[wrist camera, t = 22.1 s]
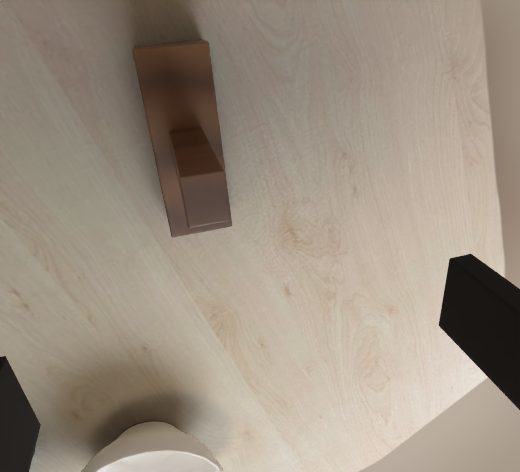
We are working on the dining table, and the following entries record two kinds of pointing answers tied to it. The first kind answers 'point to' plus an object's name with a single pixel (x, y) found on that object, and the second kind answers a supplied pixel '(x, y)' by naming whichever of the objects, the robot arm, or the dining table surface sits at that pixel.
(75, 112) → the dining table surface
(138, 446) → the bowl
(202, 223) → the brush
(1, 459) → the robot arm
